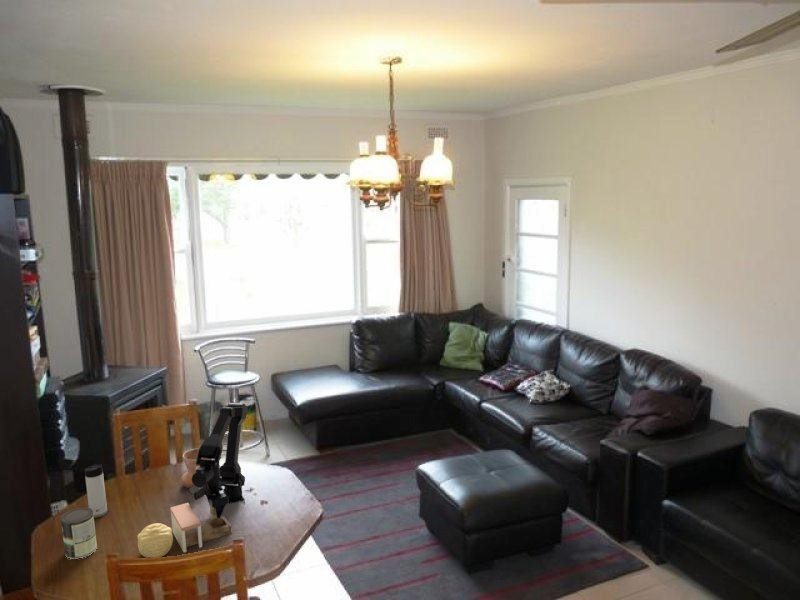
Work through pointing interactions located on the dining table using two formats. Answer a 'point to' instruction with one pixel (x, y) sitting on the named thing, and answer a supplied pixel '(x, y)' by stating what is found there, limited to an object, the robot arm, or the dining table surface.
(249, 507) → the dining table surface
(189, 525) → the footed pink board
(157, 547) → the sculpture
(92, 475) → the travel mug
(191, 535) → the socket block
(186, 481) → the ceramic jug
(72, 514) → the coffee can
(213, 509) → the peg
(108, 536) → the dining table surface
